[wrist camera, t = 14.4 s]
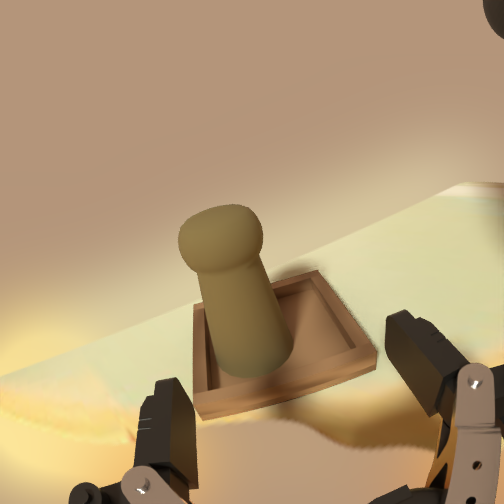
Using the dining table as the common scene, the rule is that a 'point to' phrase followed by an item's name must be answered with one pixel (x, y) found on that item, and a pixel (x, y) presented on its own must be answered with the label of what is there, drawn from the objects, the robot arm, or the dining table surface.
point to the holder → (300, 361)
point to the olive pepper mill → (236, 290)
